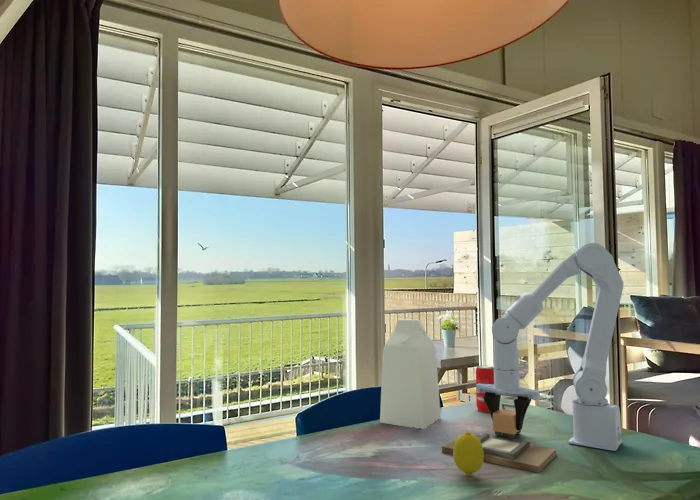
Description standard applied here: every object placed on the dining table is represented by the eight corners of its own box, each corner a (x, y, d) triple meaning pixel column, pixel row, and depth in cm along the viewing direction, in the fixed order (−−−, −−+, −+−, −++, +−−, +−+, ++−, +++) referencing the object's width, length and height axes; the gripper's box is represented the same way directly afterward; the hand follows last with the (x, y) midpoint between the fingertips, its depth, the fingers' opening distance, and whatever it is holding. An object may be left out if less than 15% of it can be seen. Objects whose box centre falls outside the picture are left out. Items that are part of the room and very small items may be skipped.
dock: (556, 455, 105) (556, 444, 105) (538, 472, 96) (538, 460, 96) (465, 438, 117) (465, 428, 117) (441, 452, 108) (441, 441, 108)
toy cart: (502, 430, 123) (501, 402, 124) (522, 433, 120) (521, 405, 121) (493, 436, 118) (492, 407, 119) (513, 439, 116) (513, 410, 116)
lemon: (482, 483, 91) (481, 437, 91) (451, 479, 93) (450, 434, 93) (485, 472, 96) (484, 429, 97) (455, 469, 98) (455, 426, 98)
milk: (440, 418, 135) (438, 319, 136) (423, 429, 125) (421, 322, 126) (399, 412, 141) (398, 317, 142) (379, 422, 131) (378, 320, 133)
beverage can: (472, 409, 144) (471, 366, 144) (487, 407, 146) (486, 364, 147) (484, 413, 139) (483, 368, 140) (499, 411, 141) (498, 367, 142)
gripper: (470, 368, 121) (471, 426, 121) (532, 374, 113) (533, 437, 112) (482, 364, 127) (483, 419, 126) (541, 369, 118) (543, 429, 118)
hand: (507, 427), depth 119 cm, fingers closed on toy cart, 5 cm apart
